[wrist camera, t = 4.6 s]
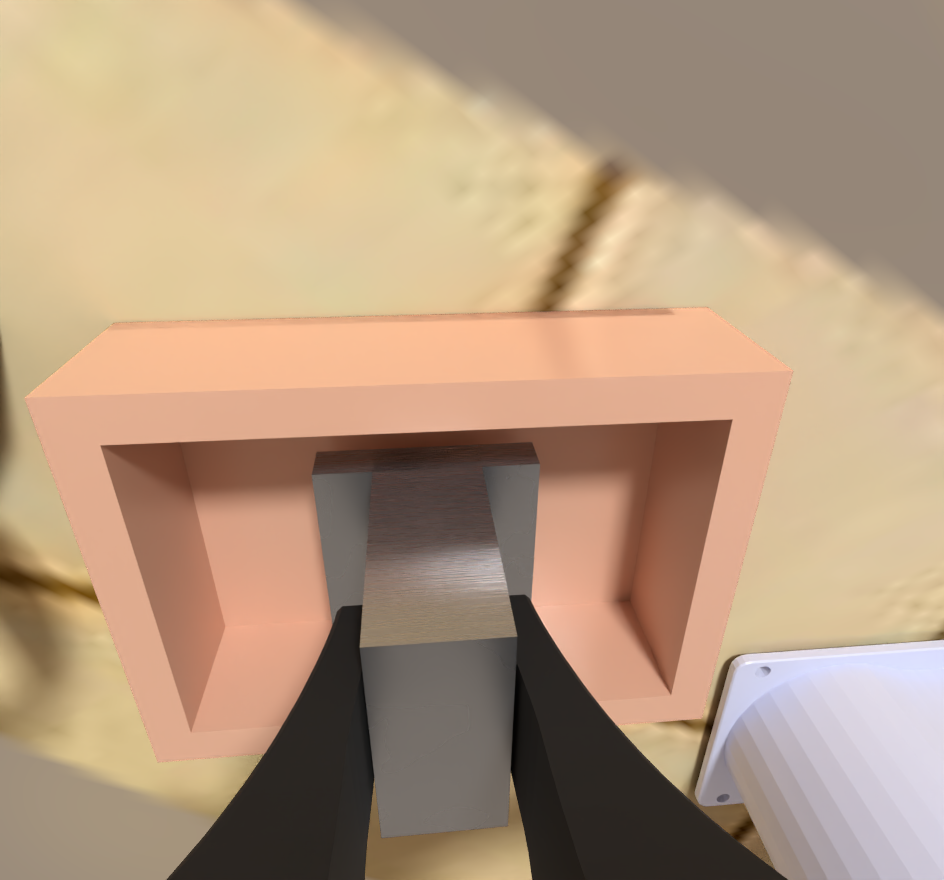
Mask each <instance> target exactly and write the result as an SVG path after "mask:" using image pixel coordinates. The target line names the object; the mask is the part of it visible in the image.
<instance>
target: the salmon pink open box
mask: <svg viewBox="0 0 944 880" xmlns="http://www.w3.org/2000/svg"><path fill="white" fill-rule="evenodd" d="M792 374H793V370H792V369H790V368H789V367H787V366H786V365H785V364H783V363H782V362H781V361H779V360H778V359H777V358H775V357H774V356H773V355H771V354H770V353H769V352H767V351H766V350H765V349H763V348H762V347H761V346H759V345H758V344H756V343H755V342H754V341H752V340H751V339H750V338H748V337H747V336H746V335H744V334H743V333H742V332H740V331H739V330H738V329H736V328H735V327H734V326H732V325H731V324H729V323H728V322H727V321H725V320H724V319H723V318H721V317H720V316H719V315H717V314H716V313H715V312H713V311H712V310H711V309H709V308H708V307H702V308H664V309H626V310H588V311H550V312H512V313H473V314H435V315H397V316H359V317H321V318H282V319H244V320H206V321H168V322H130V323H113V324H112V325H111V326H109V327H108V328H107V329H106V330H105V331H104V332H102V333H101V334H100V335H99V336H98V337H96V338H95V339H94V340H93V341H92V342H90V343H89V344H88V345H87V346H86V347H84V348H83V349H82V350H81V351H80V352H78V353H77V354H76V355H75V356H74V357H72V358H71V359H70V360H69V361H68V362H67V363H65V364H64V365H63V366H62V367H61V368H59V369H58V370H57V371H56V372H55V373H53V374H52V375H51V376H50V377H49V378H47V379H46V380H45V381H44V382H43V383H41V384H40V385H39V386H38V387H37V388H35V389H34V390H33V391H32V392H31V393H30V394H28V395H27V396H26V397H25V401H26V404H27V406H28V409H29V412H30V415H31V417H32V420H33V423H34V426H35V428H36V431H37V434H38V436H39V439H40V442H41V445H42V447H43V450H44V453H45V456H46V458H47V461H48V464H49V466H50V469H51V472H52V475H53V477H54V480H55V483H56V486H57V488H58V491H59V494H60V497H61V499H62V502H63V505H64V507H65V510H66V513H67V516H68V518H69V521H70V524H71V527H72V529H73V532H74V535H75V538H76V540H77V543H78V546H79V548H80V551H81V554H82V557H83V559H84V562H85V565H86V568H87V570H88V573H89V576H90V579H91V581H92V584H93V587H94V589H95V592H96V595H97V598H98V600H99V603H100V606H101V609H102V611H103V614H104V617H105V620H106V622H107V625H108V628H109V630H110V633H111V636H112V639H113V641H114V644H115V647H116V650H117V652H118V655H119V658H120V660H121V663H122V666H123V669H124V671H125V674H126V677H127V680H128V682H129V685H130V688H131V691H132V693H133V696H134V699H135V701H136V704H137V707H138V710H139V712H140V715H141V718H142V721H143V723H144V726H145V729H146V732H147V734H148V737H149V740H150V742H151V745H152V748H153V751H154V753H155V756H156V759H157V762H169V761H181V760H194V759H206V758H218V757H231V756H243V755H256V754H265V753H266V751H267V749H268V748H269V746H270V745H271V743H272V742H273V740H274V738H275V737H276V735H277V734H278V732H279V730H280V728H281V727H282V725H283V723H284V722H285V720H286V718H287V716H288V715H289V713H290V711H291V710H292V708H293V706H294V705H295V703H296V701H297V699H298V697H299V696H300V694H301V692H302V690H303V688H304V686H305V684H306V682H307V680H308V678H309V676H310V674H311V672H312V670H313V668H314V666H315V664H316V662H317V660H318V658H319V656H320V654H321V651H322V649H323V647H324V645H325V642H326V640H327V638H328V635H329V633H330V630H331V628H332V618H331V611H330V604H329V596H328V589H327V582H326V575H325V568H324V560H323V553H322V546H321V539H320V532H319V525H318V517H317V510H316V503H315V496H314V489H313V482H312V471H313V467H314V462H315V458H316V453H317V452H323V451H345V450H367V449H390V448H412V447H434V446H456V445H478V444H501V443H523V442H532V443H533V446H534V449H535V451H536V454H537V457H538V460H539V462H540V473H539V489H538V505H537V520H536V536H535V552H534V568H533V584H532V599H531V602H532V604H533V606H534V608H535V610H536V612H537V613H538V615H539V617H540V619H541V621H542V622H543V624H544V626H545V627H546V629H547V631H548V632H549V634H550V636H551V637H552V639H553V640H554V642H555V644H556V645H557V647H558V648H559V650H560V651H561V653H562V654H563V656H564V657H565V659H566V660H567V661H568V663H569V664H570V666H571V667H572V669H573V670H574V671H575V673H576V674H577V676H578V677H579V678H580V680H581V681H582V683H583V684H584V685H585V687H586V688H587V689H588V691H589V692H590V693H591V695H592V696H593V697H594V698H595V700H596V701H597V702H598V703H599V705H600V706H601V707H602V708H603V710H604V711H605V712H606V713H607V715H608V716H609V717H610V718H611V719H612V721H613V722H614V723H615V724H616V725H626V724H638V723H651V722H663V721H675V720H688V719H700V718H702V716H703V712H704V708H705V705H706V701H707V697H708V693H709V689H710V686H711V682H712V678H713V674H714V670H715V667H716V663H717V659H718V655H719V651H720V648H721V644H722V640H723V636H724V632H725V629H726V625H727V621H728V617H729V613H730V610H731V606H732V602H733V598H734V594H735V591H736V587H737V583H738V579H739V575H740V572H741V568H742V564H743V560H744V556H745V553H746V549H747V545H748V541H749V537H750V534H751V530H752V526H753V522H754V518H755V515H756V511H757V507H758V503H759V499H760V496H761V492H762V488H763V484H764V480H765V477H766V473H767V469H768V465H769V461H770V458H771V454H772V450H773V446H774V442H775V439H776V435H777V431H778V427H779V423H780V420H781V416H782V412H783V408H784V404H785V401H786V397H787V393H788V389H789V385H790V382H791V378H792Z"/></svg>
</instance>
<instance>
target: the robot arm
mask: <svg viewBox="0 0 944 880" xmlns="http://www.w3.org/2000/svg"><path fill="white" fill-rule="evenodd" d="M509 599H510V603H511V608H512V613H513V618H514V623H515V627H516V632H517V655H516V675H515V694H514V714H513V733H512V753H511V774H512V778H513V782H514V787H515V791H516V796H517V800H518V804H519V809H520V813H521V817H522V822H523V826H524V831H525V836H526V842H527V847H528V852H529V859H530V866H531V873H532V880H944V640H935V641H921V642H907V643H893V644H880V645H866V646H852V647H838V648H825V649H811V650H797V651H784V652H770V653H756V654H745V655H741V656H739V657H737V658H735V659H734V660H733V661H732V663H731V665H730V667H729V671H728V674H727V678H726V681H725V685H724V689H723V692H722V696H721V699H720V703H719V707H718V710H717V714H716V717H715V721H714V725H713V728H712V732H711V735H710V739H709V742H708V746H707V750H706V753H705V757H704V760H703V764H702V768H701V771H700V775H699V778H698V782H697V786H696V789H695V796H696V799H697V801H698V803H699V804H700V805H703V806H718V805H728V804H739V803H744V804H745V806H746V808H747V811H748V813H749V815H750V817H751V819H752V821H753V823H754V825H755V827H756V830H757V832H758V834H759V836H760V838H761V840H762V842H763V844H764V846H765V849H766V851H767V853H768V855H769V857H770V859H771V861H772V863H773V865H774V868H775V869H773V868H772V867H770V866H769V865H768V864H766V863H765V862H764V861H762V860H761V859H760V858H758V857H757V856H756V855H755V854H753V853H752V852H751V851H749V850H748V849H747V848H746V847H744V846H743V845H742V844H740V843H739V842H738V841H737V840H736V839H734V838H733V837H732V836H731V835H730V834H728V833H727V832H726V831H725V830H724V829H722V828H721V827H720V826H719V825H718V824H716V823H715V822H714V821H713V820H712V819H710V818H709V817H708V816H707V815H706V814H705V813H704V812H703V811H701V810H700V809H699V808H698V807H697V806H696V805H695V804H694V803H693V802H692V801H691V800H689V799H688V798H687V797H686V796H685V795H684V794H683V793H682V792H681V791H680V790H679V789H677V788H676V787H675V786H674V785H673V784H672V783H671V782H670V781H669V780H668V779H667V778H666V777H665V776H663V775H662V774H661V773H660V771H659V770H658V769H657V768H656V767H655V766H654V765H653V764H652V763H651V762H650V761H649V760H648V759H647V758H646V757H645V756H644V755H643V754H642V753H641V752H640V751H639V750H638V749H637V748H636V747H635V745H634V744H633V743H632V742H631V741H630V740H629V739H628V738H627V737H626V736H625V735H624V733H623V732H622V731H621V730H620V729H619V728H618V726H617V725H616V724H615V723H614V722H613V721H612V719H611V718H610V717H609V716H608V715H607V713H606V712H605V711H604V710H603V708H602V707H601V706H600V705H599V703H598V702H597V701H596V700H595V698H594V697H593V696H592V695H591V693H590V692H589V691H588V689H587V688H586V687H585V685H584V684H583V683H582V681H581V680H580V678H579V677H578V676H577V674H576V673H575V671H574V670H573V669H572V667H571V666H570V664H569V663H568V661H567V660H566V659H565V657H564V656H563V654H562V653H561V651H560V650H559V648H558V647H557V645H556V644H555V642H554V640H553V639H552V637H551V636H550V634H549V632H548V631H547V629H546V627H545V626H544V624H543V622H542V621H541V619H540V617H539V615H538V613H537V612H536V610H535V608H534V606H533V604H532V602H531V600H530V598H529V597H527V596H526V595H525V594H523V595H509ZM362 608H363V605H352V606H342V607H341V608H340V609H339V610H338V611H337V613H336V616H335V620H334V622H333V625H332V628H331V630H330V633H329V635H328V638H327V640H326V642H325V645H324V647H323V649H322V651H321V654H320V656H319V658H318V660H317V662H316V664H315V666H314V668H313V670H312V672H311V674H310V676H309V678H308V680H307V682H306V684H305V686H304V688H303V690H302V692H301V694H300V696H299V697H298V699H297V701H296V703H295V705H294V706H293V708H292V710H291V711H290V713H289V715H288V716H287V718H286V720H285V722H284V723H283V725H282V727H281V728H280V730H279V732H278V734H277V735H276V737H275V738H274V740H273V742H272V743H271V745H270V746H269V748H268V749H267V751H266V753H265V754H264V756H263V757H262V759H261V760H260V762H259V763H258V765H257V766H256V767H255V769H254V770H253V772H252V773H251V775H250V776H249V778H248V779H247V780H246V782H245V783H244V785H243V786H242V787H241V789H240V790H239V791H238V793H237V794H236V795H235V797H234V798H233V799H232V801H231V802H230V803H229V805H228V806H227V807H226V809H225V810H224V811H223V813H222V814H221V815H220V817H219V818H218V819H217V821H216V822H215V823H214V824H213V826H212V827H211V828H210V829H209V831H208V832H207V833H206V834H205V836H204V837H203V838H202V839H201V840H200V842H199V843H198V844H197V845H196V846H195V847H194V849H193V850H192V851H191V852H190V853H189V854H188V855H187V857H186V858H185V859H184V860H183V861H182V862H181V864H180V865H179V866H178V867H177V868H176V870H174V872H173V873H172V874H171V875H170V876H169V878H168V879H167V880H365V863H366V849H367V838H368V829H369V820H370V811H371V802H372V793H373V784H374V769H373V760H372V752H371V743H370V734H369V725H368V717H367V708H366V699H365V690H364V682H363V673H362V664H361V655H360V636H361V622H362Z"/></svg>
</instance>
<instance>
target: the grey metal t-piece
mask: <svg viewBox="0 0 944 880" xmlns="http://www.w3.org/2000/svg"><path fill="white" fill-rule="evenodd" d="M539 473H540V462H539V460H538V457H537V454H536V451H535V449H534V446H533V443H532V442H523V443H501V444H478V445H456V446H434V447H412V448H390V449H367V450H345V451H323V452H317V453H316V458H315V462H314V467H313V471H312V482H313V489H314V496H315V503H316V510H317V517H318V525H319V532H320V539H321V546H322V553H323V560H324V568H325V575H326V582H327V589H328V596H329V604H330V611H331V618H332V625H333V622H334V620H335V616H336V613H337V611H338V610H339V609H340V608H341V607H342V606H352V605H363V608H362V622H361V636H360V655H361V664H362V673H363V682H364V690H365V699H366V708H367V717H368V725H369V734H370V743H371V752H372V760H373V769H374V778H375V787H376V796H377V804H378V813H379V822H380V831H381V838H389V837H399V836H410V835H420V834H430V833H441V832H451V831H462V830H472V829H483V828H493V827H504V826H508V812H509V792H510V772H511V753H512V733H513V714H514V694H515V675H516V655H517V632H516V627H515V623H514V618H513V613H512V608H511V603H510V599H509V595H523V594H525V595H526V596H527V597H529V598H530V600H531V599H532V584H533V568H534V552H535V536H536V520H537V505H538V489H539Z"/></svg>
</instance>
